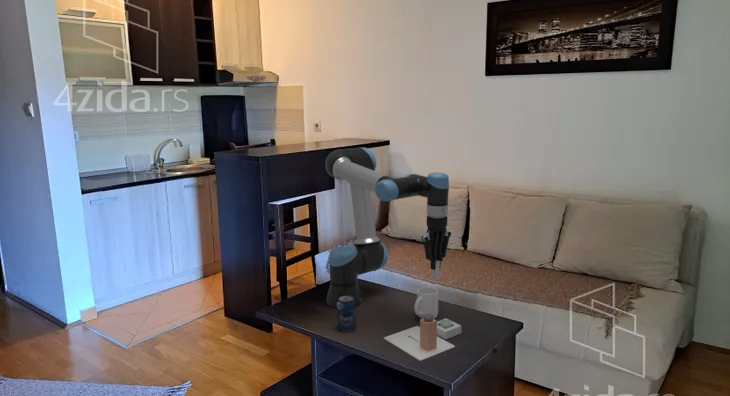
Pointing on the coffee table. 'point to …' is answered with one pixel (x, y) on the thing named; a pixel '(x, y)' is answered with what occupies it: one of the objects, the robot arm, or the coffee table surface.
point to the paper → (416, 343)
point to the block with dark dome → (428, 333)
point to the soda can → (346, 313)
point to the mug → (426, 302)
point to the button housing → (448, 330)
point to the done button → (445, 324)
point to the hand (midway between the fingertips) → (435, 276)
